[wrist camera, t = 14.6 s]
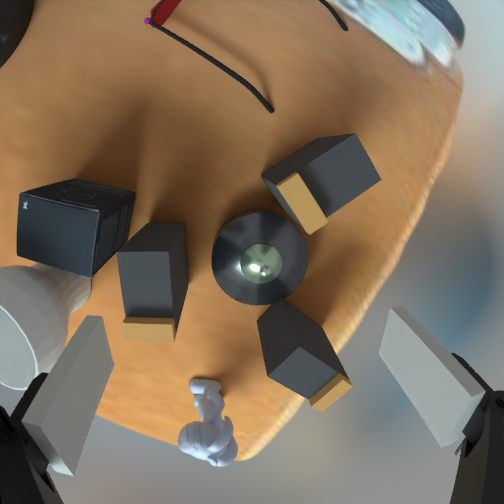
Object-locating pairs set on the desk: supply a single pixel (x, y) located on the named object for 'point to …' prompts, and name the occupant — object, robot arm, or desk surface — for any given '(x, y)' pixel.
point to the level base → (259, 257)
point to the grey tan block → (154, 281)
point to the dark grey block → (301, 355)
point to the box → (73, 225)
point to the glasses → (158, 19)
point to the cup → (35, 319)
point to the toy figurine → (209, 426)
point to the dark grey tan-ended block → (321, 179)
